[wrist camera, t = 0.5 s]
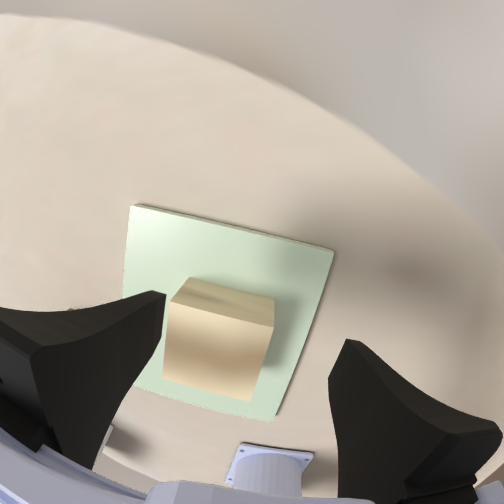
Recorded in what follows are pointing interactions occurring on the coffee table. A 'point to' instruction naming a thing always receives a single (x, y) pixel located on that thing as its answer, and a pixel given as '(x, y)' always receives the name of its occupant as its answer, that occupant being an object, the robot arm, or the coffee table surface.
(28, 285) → the coffee table surface
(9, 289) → the coffee table surface
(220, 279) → the plate
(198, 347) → the maple base brick
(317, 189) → the coffee table surface
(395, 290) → the coffee table surface
